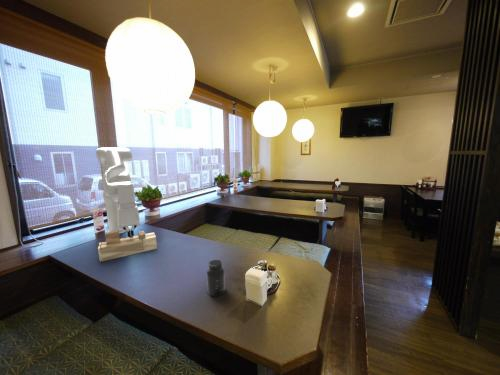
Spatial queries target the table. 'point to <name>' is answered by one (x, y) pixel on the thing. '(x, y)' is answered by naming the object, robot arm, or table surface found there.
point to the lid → (117, 240)
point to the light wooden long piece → (128, 248)
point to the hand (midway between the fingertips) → (131, 237)
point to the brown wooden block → (141, 234)
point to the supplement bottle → (215, 278)
